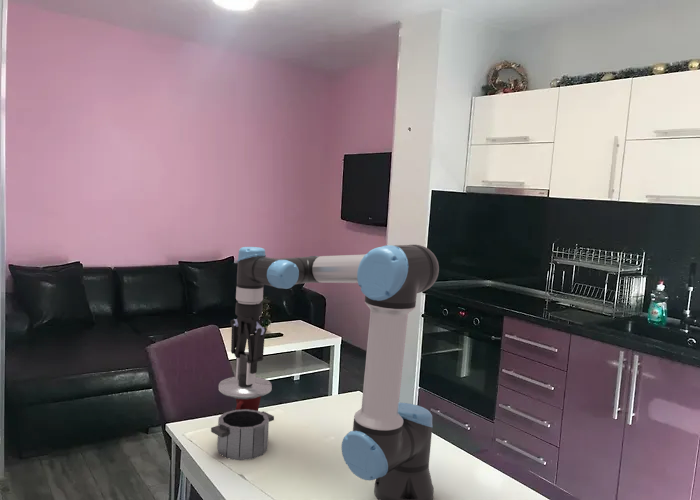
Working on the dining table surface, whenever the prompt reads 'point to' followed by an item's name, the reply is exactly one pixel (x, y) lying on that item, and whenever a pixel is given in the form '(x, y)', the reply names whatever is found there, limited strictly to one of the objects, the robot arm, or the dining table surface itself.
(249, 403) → the mug
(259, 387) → the lid
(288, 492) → the dining table surface
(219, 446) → the pot
